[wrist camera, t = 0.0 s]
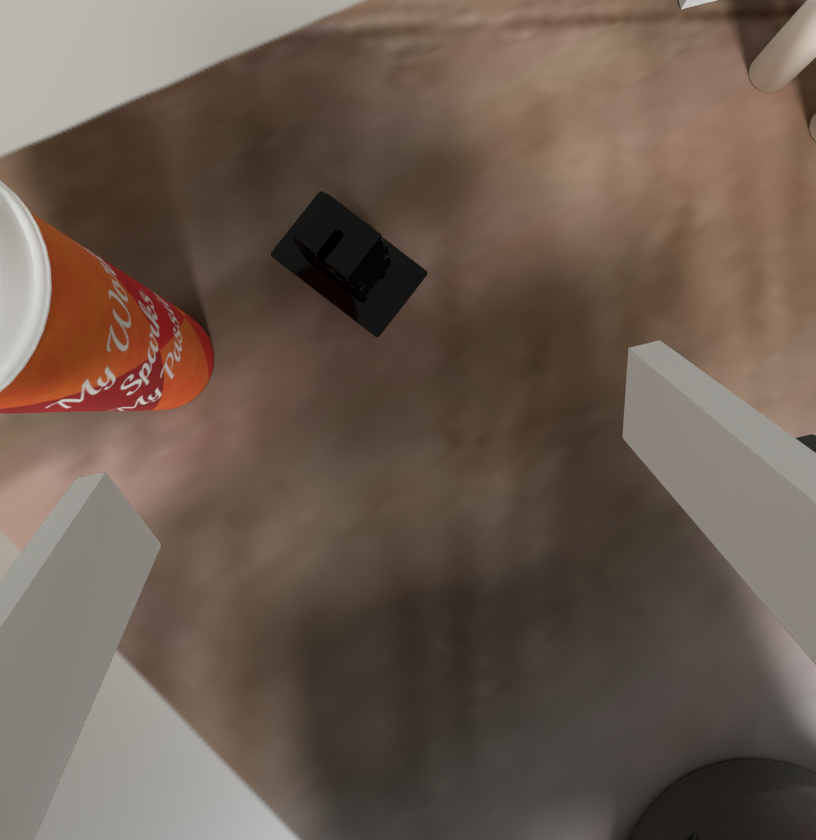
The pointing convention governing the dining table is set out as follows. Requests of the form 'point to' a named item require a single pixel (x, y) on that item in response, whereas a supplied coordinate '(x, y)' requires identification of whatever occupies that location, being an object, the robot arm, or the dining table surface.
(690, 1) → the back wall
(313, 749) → the dining table surface
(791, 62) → the pin
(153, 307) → the coffee cup
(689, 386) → the robot arm
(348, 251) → the dark piece
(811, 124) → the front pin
